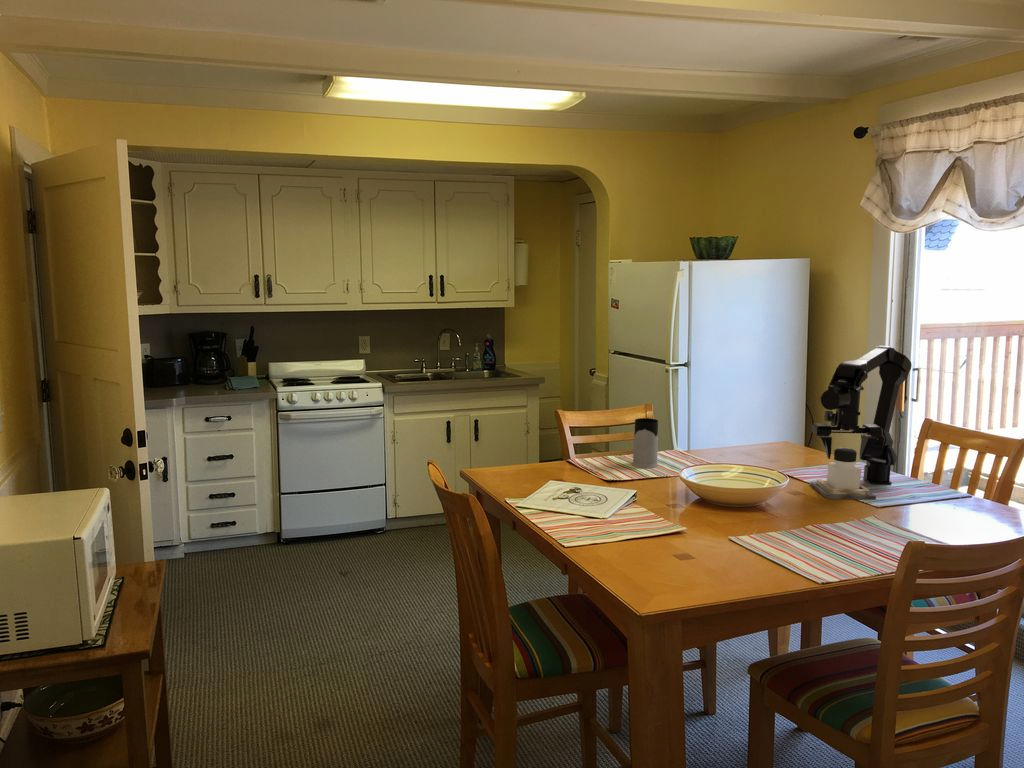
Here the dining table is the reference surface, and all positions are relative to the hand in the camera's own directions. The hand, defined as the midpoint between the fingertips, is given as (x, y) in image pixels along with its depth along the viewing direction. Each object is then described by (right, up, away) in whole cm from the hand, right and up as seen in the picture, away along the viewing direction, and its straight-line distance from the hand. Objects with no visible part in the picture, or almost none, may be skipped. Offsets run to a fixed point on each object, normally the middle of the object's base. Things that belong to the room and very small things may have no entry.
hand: (844, 458), depth 240 cm
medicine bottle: (0, -9, +1) cm, 9 cm away
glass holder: (-53, -5, +34) cm, 63 cm away
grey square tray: (0, -10, +1) cm, 10 cm away
